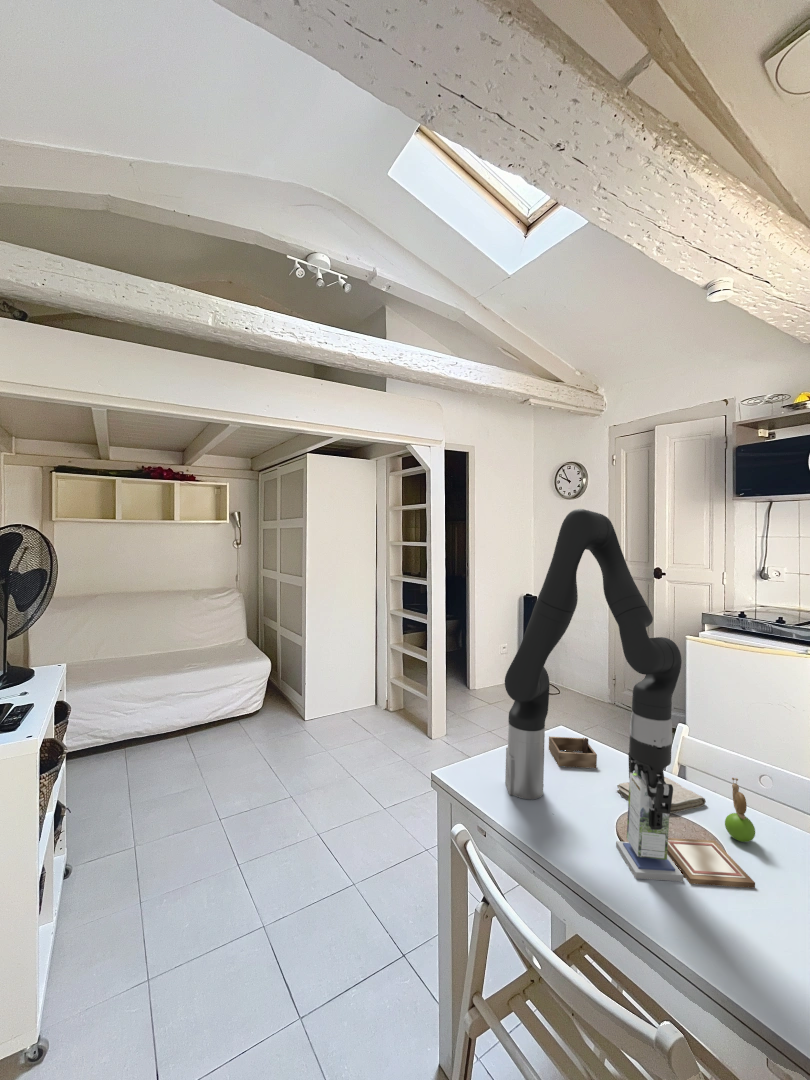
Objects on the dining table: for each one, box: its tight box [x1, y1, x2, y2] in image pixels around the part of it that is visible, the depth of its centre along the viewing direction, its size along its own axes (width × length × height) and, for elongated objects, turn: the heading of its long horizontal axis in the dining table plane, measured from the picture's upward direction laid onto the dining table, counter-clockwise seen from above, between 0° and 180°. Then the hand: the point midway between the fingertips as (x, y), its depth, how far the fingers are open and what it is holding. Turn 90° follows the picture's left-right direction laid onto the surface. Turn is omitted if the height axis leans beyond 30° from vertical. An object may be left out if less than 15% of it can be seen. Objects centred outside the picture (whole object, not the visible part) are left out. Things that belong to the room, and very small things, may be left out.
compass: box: [562, 737, 589, 753], centre depth 134 cm, size 8×8×7 cm
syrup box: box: [626, 772, 670, 860], centre depth 91 cm, size 6×6×14 cm
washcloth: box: [616, 776, 706, 814], centre depth 115 cm, size 12×18×3 cm, turn 109°
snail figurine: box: [724, 777, 756, 843], centre depth 100 cm, size 5×6×12 cm
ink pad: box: [615, 840, 684, 882], centre depth 91 cm, size 9×9×2 cm
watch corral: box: [548, 736, 598, 769], centre depth 135 cm, size 11×11×4 cm
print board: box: [667, 837, 756, 889], centre depth 91 cm, size 12×12×1 cm
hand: (647, 817), depth 91 cm, fingers closed on syrup box, 6 cm apart
